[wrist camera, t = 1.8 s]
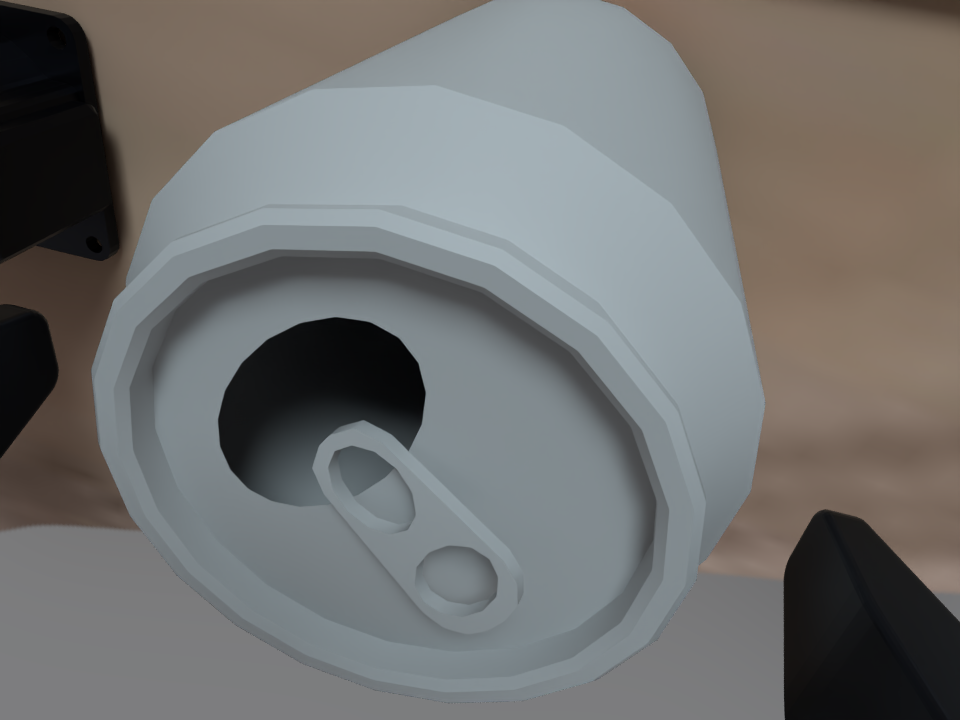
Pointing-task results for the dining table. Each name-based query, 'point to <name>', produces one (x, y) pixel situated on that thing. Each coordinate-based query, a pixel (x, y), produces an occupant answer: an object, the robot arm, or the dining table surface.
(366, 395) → the can
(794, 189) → the dining table surface
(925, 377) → the dining table surface
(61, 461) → the dining table surface
